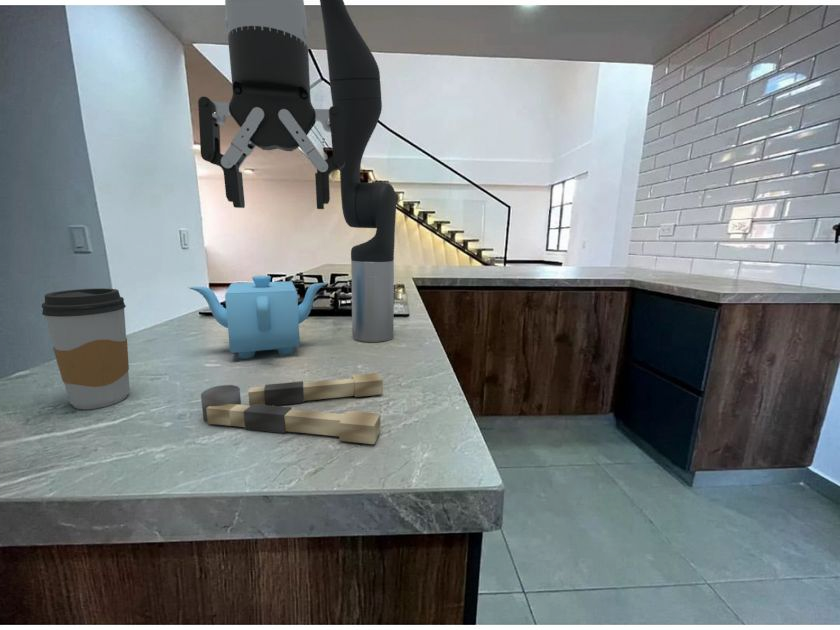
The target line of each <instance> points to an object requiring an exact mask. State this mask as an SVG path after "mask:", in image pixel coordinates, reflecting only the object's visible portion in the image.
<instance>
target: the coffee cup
mask: <svg viewBox="0 0 840 630" xmlns="http://www.w3.org/2000/svg"><path fill="white" fill-rule="evenodd" d="M124 301H125V300H124V297H123V296H121V294H120V291H119V289H116V288H81V289H80V288H79V289H78V288H77V289H69V290H60V291H59V290H58V291H52V292H49V293H46V294H44V302H43V303H41V308H42V313H41V315H42V316H44V318H45V321H46V325H47V328H48V332H49V335H50V339H51V342H52V345H53V348H52V350H53V353H54V356H55V360H56V363H57V367H58V370H59V373H60V377H61V379H62V382H63V385H64V387H65V390H66V395H67V398H68V402H69V404H71V405H72V406H73V408H75V409H78V410H94V409H101V408H106V407H109V406H112V405H116V404H117V403H120V402H122V401H124V400H125V399H126V398H127V397H128V395H129V393H130V390H131V388H130V375H129V374H130V373H129V370H130V369H129V368H130V365H129V351H128V349H129V348H128V338H127V331H126V330H127V329H126V314H125V308H127V305H126V304H125V302H124Z"/></svg>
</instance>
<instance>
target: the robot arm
mask: <svg viewBox="0 0 840 630" xmlns="http://www.w3.org/2000/svg"><path fill="white" fill-rule="evenodd" d="M224 4H225V9H224V10H225V21H224V22H225V31H226V33H227V40H228V42H227V43H228V52H229V65H230V74H231V75H230V76H231V87H232V95H231V98H230V101H229V102H224V101H215V100H212V99H210V98H209V97H208V96H201V97H200V98H198V101H197V104H198V125H199V126H198V127H199V128H198V129H199V143H200V144H199V145H200V156H201V158H202V160H204V161H206V162H209V163H210V164H211V165H215V166H217V167H220V168H221V170H222V172H223V177H224V178H223V179H224V181H223V182H224V189H225V197H226V200H227V201H228V202H229V203H230V202H231V203H232V205H233V208H237V209H244V208H245V205H246V204H245V203H246V202H245V193H244V180H243V172H241V171H240V168H241V166H242V165H243V164H244V163H245V161H246V159H247V158H248V157H249V156H250V155H251V154H252V153H253V152H254V150H255V149H256V148H258V149H261V150H262V151H272V150H277V149H278V150H282V151H285V152H293V151H294V150H296V149H298V148H300V149H301V151H302V152H303V153H304V155H305V156H306V158H308V160H309V161H310V163H311V164H312V165H313V166H314V167H315V169H316V172H315V173H314V176H315V179H314V180H315V194H316V195H315V197H316V199H315V200H316V209H317V210H325V205H329V203H330V201H331V198H330V195H331V194H330V191H331V190H330V175H331V174H332V172H335V171H338V170H339V176H340V177H339V179H340V197H341V208H342V214H343V218H344V221H345V223H346V224H347V225H348V226H349V227H351V228H356V229H376V231H375V234H374V236H373V237H371V238H370V239H369V240H367V241H365V242H363V243H360V244H357V245H354V246H352V248H351V250H350V260H351V261H350V263H351V265H350V267H351V268H350V270H351V271H350V273H351V316H352V317H351V319H352V320H351V321H352V322H351V324H352V325H351V326H352V327H351V328H352V329H351V332H352V336H351V337H352V339H353V340H355V341H358V342H365V343H378V342H386V341H390V340H391V339H393V338H394V319H395V318H394V314H395V313H394V312H395V310H394V309H395V307H394V303H395V300H394V299H395V296H394V294H395V293H394V291H395V288H394V286H395V279H394V278H395V273H394V272H395V269H394V267H395V261H394V260H395V244H396V243H395V234H396V219H397V218H396V217H397V197H396V191H395V189H394V187H393V185H392V184H391V183H388V182H361V163H362V159H363V156H364V154H365V151H366V148H367V146H368V144H369V142H370V139H371V138H372V136H373V133H374V131H375V130H376V127H377V125H378V123H379V119H380V116H381V113H382V108H383V105H382V104H383V103H382V102H383V101H382V88H381V86H382V85H381V72H380V67H379V65H378V63H377V61H376V59H375V57H374V55H373V53H372V51H371V49H370V48H369V46H368V45H367V43H366V41H365V40H364V39H363V37H362V35H361V34H360V32H359V31H358V29H357V27H356V25H355V24H354V21H353V19H352V18H351V16H350V14H349V12H348V10H347V8H346V5H345V2H344V0H319V4H320V9H321V17H322V23H323V29H324V37H325V46H326V56H327V57H326V58H327V68H328V79H329V87H330V95H331V103H332V104H331V105H332V106H330V107H329V108H328V109H327V108H325V109H323V108H315V107H314V106H313V104H312V102H311V101H312V100H311V83H310V82H311V81H310V60H309V41H308V40H309V33H308V23H307V15H306V8H305V7H306V6H305V2H304V0H225V1H224ZM229 116H231V117H232V118H233V120H234V121H235V122H236V124H237V125H238V127H240V128H239V129H238V131H237V132H236V134H235V135H234V136H233V138H232V140H231V142H230V146H229V147H228V149H227V150H226V151H225V153H224V154H222V152H221V151H222V149H221V132H220V131H221V130H220V129H221V128H220V126H223V125H225V124H226V120H227V117H229ZM316 122H319V123H320V124H321V125H322V128H323V130H324V131H325V132H326V133H330V138H331V147H332V148H331V149H332V157H329V158H324V157H323V155H321V153H320V151H318V149H317V148H316V146H315V145H314V143H313V142H312V140H311V139H310V138H309V136H308V135H309V133H310V131H311V130H312V129H313V127H314V126H315V124H316Z"/></svg>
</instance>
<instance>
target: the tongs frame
mask: <svg viewBox="0 0 840 630" xmlns="http://www.w3.org/2000/svg"><path fill="white" fill-rule="evenodd" d="M200 400H201V401H200V402H201V409H202V417H203V421H204V422H205V423H207V424H209V425H219V426H231V427H238V428H239V427H241V428H242V427H243V428H244V430H251V431H259V432H270V433H282V434H285V433H286V432H292V433H301V434H310V435H311V434H312V435H322V436H334V437H339V442H348V443H359V444H370V445H374V444H375V443H376V441H377V438H378V436H379V435H380V433H381V413H377V412H376V413H375V412H367V411H366V412H364V411H353V410H347V411H346V413H336V412H335V413H333V412H325V411H324V412H323V411H315V410H303V409H292V407H289V406H280V405H273V406H270V405H259V404H253V405H251V406H249V404H242V403H241V402H242V400H241V389H240V387H239V386H237V385H232V384H224V385H217V386H212V387H209V388H207V389H205V390H204V391H202V392H201V393H200Z"/></svg>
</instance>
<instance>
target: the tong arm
mask: <svg viewBox="0 0 840 630" xmlns="http://www.w3.org/2000/svg"><path fill="white" fill-rule="evenodd" d="M351 377H352V378H344V379H335V380H334V379H332V380H331V379H330V380H321V381H320V380H319V381H310V382H304V381H294V382H293V381H291V382H283V383H282V382H281V383H280V382H279V383H269V384H268V383H267V384H265V385H264V386H254V387H249V389H248V392H247V393H248V397H247V398H248V405H249V406H251V405H253V404H259V405H270V406H280V405H282V406H284V405H290V404H301V403H304V402H305V401H315V400H323V399H324V400H325V399H326V400H327V399H336V398H344V397H353V396H354V398H358V397H368V396H380V395H384V393H383V384H384V383H383V382H384V381H383V378H382V376H381V375H380V373H379V372H373V373H361V374H360V373H359V374H352V376H351Z"/></svg>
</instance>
